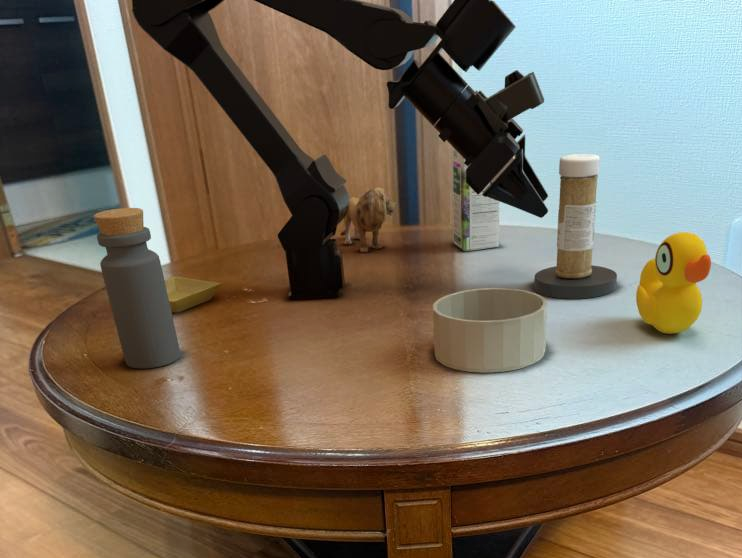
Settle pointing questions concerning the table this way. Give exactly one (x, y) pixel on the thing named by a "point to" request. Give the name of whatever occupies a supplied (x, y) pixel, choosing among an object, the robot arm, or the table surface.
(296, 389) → the table surface
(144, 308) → the bottle
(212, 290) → the yellow shallow tray
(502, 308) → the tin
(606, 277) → the stand
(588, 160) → the sprinkles bottle
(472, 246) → the syrup box
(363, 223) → the lion figurine
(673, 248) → the duckling
